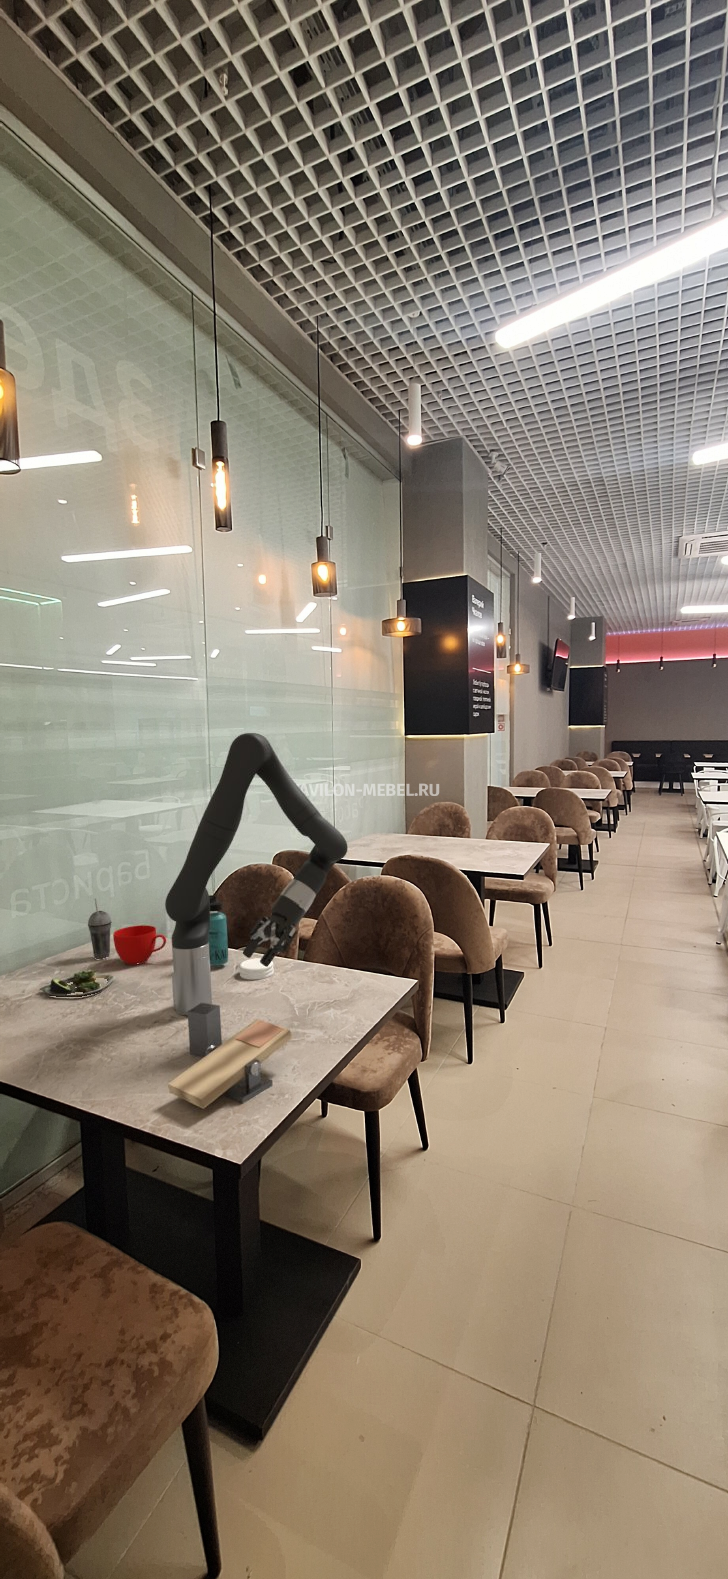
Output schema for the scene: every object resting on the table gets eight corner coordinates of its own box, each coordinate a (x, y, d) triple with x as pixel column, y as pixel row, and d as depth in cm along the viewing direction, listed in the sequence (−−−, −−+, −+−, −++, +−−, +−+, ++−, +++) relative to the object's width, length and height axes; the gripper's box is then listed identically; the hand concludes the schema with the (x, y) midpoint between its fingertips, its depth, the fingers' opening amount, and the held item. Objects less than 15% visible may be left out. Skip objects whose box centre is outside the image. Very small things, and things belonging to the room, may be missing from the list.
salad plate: (74, 974, 204) (73, 960, 204) (127, 976, 201) (127, 961, 201) (32, 999, 185) (30, 983, 185) (90, 1001, 182) (89, 985, 182)
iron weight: (190, 1055, 148) (187, 1011, 147) (203, 1045, 153) (201, 1002, 152) (208, 1058, 146) (206, 1014, 145) (222, 1048, 151) (219, 1005, 150)
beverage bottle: (209, 963, 209) (205, 901, 207) (230, 962, 209) (227, 899, 208) (205, 971, 202) (202, 906, 201) (228, 969, 203) (224, 905, 201)
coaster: (273, 967, 204) (272, 956, 204) (274, 978, 194) (274, 967, 194) (240, 970, 202) (239, 959, 202) (239, 982, 192) (239, 970, 192)
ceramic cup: (157, 969, 205) (155, 937, 204) (107, 968, 208) (104, 936, 207) (176, 955, 218) (174, 925, 217) (128, 954, 221) (126, 925, 220)
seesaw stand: (195, 1082, 136) (194, 1053, 135) (226, 1066, 142) (224, 1038, 142) (242, 1103, 127) (241, 1072, 127) (272, 1085, 134) (271, 1055, 133)
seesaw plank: (169, 1092, 129) (167, 1082, 128) (258, 1027, 147) (256, 1018, 146) (203, 1108, 122) (201, 1098, 122) (291, 1038, 141) (289, 1029, 140)
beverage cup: (118, 955, 220) (114, 895, 219) (103, 962, 214) (99, 901, 212) (100, 953, 223) (96, 894, 221) (85, 960, 216) (80, 900, 214)
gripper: (268, 889, 165) (229, 945, 159) (299, 898, 154) (258, 959, 148) (288, 906, 169) (250, 961, 163) (319, 916, 157) (280, 976, 151)
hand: (254, 960), depth 155 cm, fingers open, 8 cm apart
